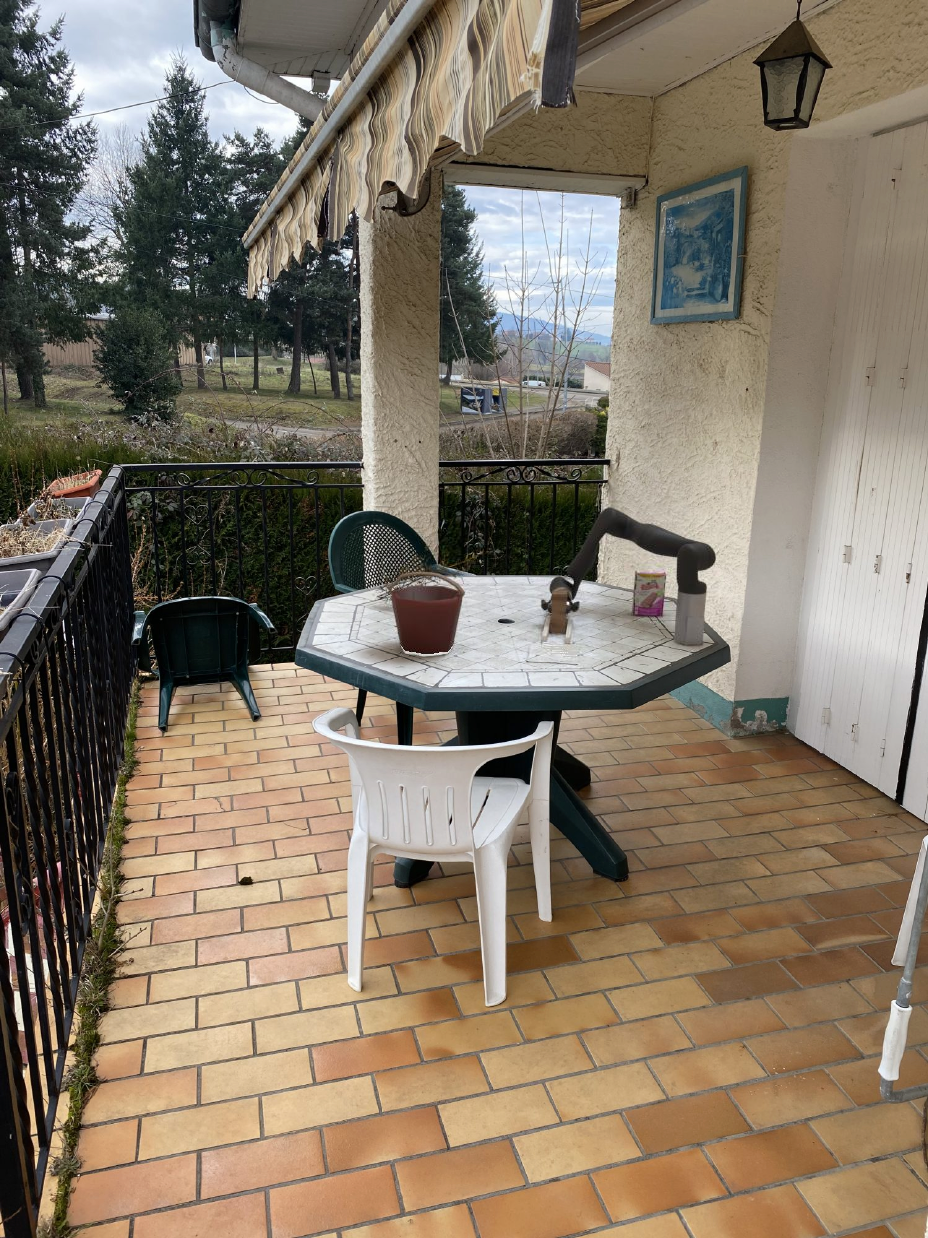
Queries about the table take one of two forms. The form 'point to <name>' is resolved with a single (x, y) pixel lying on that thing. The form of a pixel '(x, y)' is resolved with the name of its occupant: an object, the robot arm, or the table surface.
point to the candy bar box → (648, 593)
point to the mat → (567, 648)
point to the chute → (547, 626)
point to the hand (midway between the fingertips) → (558, 610)
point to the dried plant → (417, 575)
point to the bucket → (426, 614)
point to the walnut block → (558, 611)
